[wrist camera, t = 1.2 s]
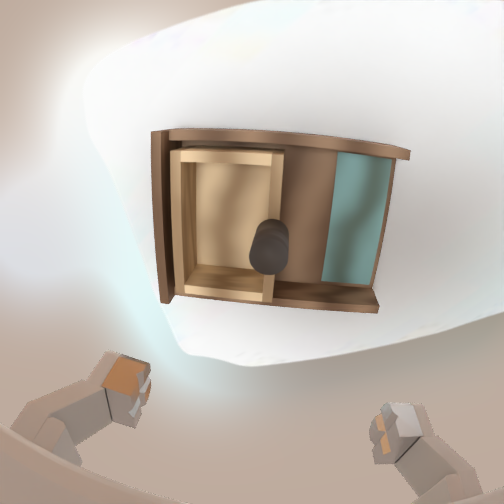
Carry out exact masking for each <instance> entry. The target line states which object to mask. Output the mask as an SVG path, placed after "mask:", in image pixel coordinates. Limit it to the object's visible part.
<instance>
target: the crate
mask: <svg viewBox="0 0 504 504" xmlns="http://www.w3.org/2000/svg"><path fill="white" fill-rule="evenodd" d="M284 154H285V149H274V148H259V147H240V146H211V145H189V146H185V147H182V148H178V149H175V150H172V151H170V182H171V218H172V240H173V258H174V273H175V287H176V292H180V293H188V294H196V295H204V296H213V297H222V298H231V299H240V300H250V301H260V302H270V303H272V298H273V289H274V280H275V274H277V273H279V272H281V271H282V270H283V269H284V268H285V267H286V265H287V263H288V251H289V231H288V228H287V227H286V225H285V224H284V223H283V222H281V221H280V209H281V196H282V182H283V168H284Z"/></svg>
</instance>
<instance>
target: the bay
mask: <svg viewBox="0 0 504 504" xmlns="http://www.w3.org/2000/svg"><path fill="white" fill-rule="evenodd" d="M189 145H211V146H240V147H259V148H274V149H285V154H284V168H283V182H282V196H281V209H280V221H281V222H283V223H284V224H285V225H286V227H287V228H288V231H289V251H288V263H287V265H286V267H285V268H284V269H283V270H282V271H281V272H279V273H277V274H275V280H274V289H273V298H272V303H270V302H260V301H250V300H240V299H231V298H222V297H213V296H204V295H196V294H188V293H180V292H176V287H175V273H174V258H173V240H172V218H171V182H170V151H172V150H175V149H178V148H182V147H185V146H189ZM410 151H411V150H408V149H404V148H401V147H397V146H393V145H388V144H382V143H376V142H369V141H363V140H356V139H348V138H341V137H333V136H324V135H315V134H305V133H294V132H281V131H266V130H247V129H213V128H181V129H168V130H160V131H153V132H151V177H152V204H153V222H154V238H155V251H156V263H157V273H158V283H159V293H160V302H161V303H165V304H169V303H170V302H171V300H172V299H173V297H174V295H180V296H188V297H196V298H204V299H213V300H222V301H231V302H240V303H249V304H259V305H270V306H280V307H292V308H304V309H316V310H330V311H344V312H360V313H378V310H379V304H378V301H377V299H376V296H375V294H374V291H373V289H372V287H373V283H374V279H375V274H376V270H377V266H378V261H379V257H380V252H381V247H382V242H383V237H384V232H385V227H386V221H387V216H388V210H389V204H390V198H391V192H392V185H393V178H394V171H395V163H396V158H398V159H404V160H409V159H410Z"/></svg>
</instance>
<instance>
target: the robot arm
mask: <svg viewBox="0 0 504 504" xmlns="http://www.w3.org/2000/svg"><path fill="white" fill-rule="evenodd" d="M150 371H151V369H150V364H149V363H147V362H144V361H141V360H138V359H135V358H132V357H129V356H126V355H123V354H120V353H117V352H114V351H111V350H108V351H106V352H105V353H104V354H103V356H102V358H101V359H100V360H99V362H98V364H97V365H96V367H95V368H94V370H93V371H92V373H91V374H90V376H89V377H88V379H87V380H86V381H85V380H80V381H78V382H76V383H73V384H71V385H69V386H66V387H64V388H62V389H59V390H57V391H54V392H52V393H50V394H47V395H45V396H42V397H40V398H38V399H35V400H33V401H30V402H28V403H27V404H26V406H25V407H24V409H23V410H22V411H21V413H20V414H19V416H18V417H17V419H16V420H15V422H14V423H13V424H12V426H11V427H10V429H9V428H8V427H6V426H5V425H3V424H2V423H0V504H191V503H186V502H182V501H178V500H174V499H170V498H166V497H163V496H159V495H156V494H152V493H149V492H146V491H143V490H139V489H137V488H134V487H130V486H127V485H125V484H122V483H119V482H116V481H114V480H111V479H108V478H106V477H103V476H101V475H99V474H96V473H93V472H91V471H89V470H86V469H84V468H82V467H80V466H81V464H82V460H81V457H80V455H79V454H78V451H77V449H76V447H75V446H76V445H78V444H79V443H81V442H83V441H84V440H86V439H87V438H89V437H90V436H92V435H93V434H95V433H96V432H98V431H99V430H101V429H103V428H104V427H106V426H107V425H109V424H110V423H112V421H114V422H116V423H119V424H123V425H126V426H129V427H132V428H136V426H137V423H138V421H139V419H140V416H141V407H142V406H144V405H145V404H146V402H147V400H148V397H149V393H150V389H151V379H150V378H149V377H148V375H149V373H150ZM369 435H370V440H371V441H372V442H373V443H374V445H375V446H374V448H373V449H372V452H373V457H374V462H375V464H394V465H395V467H396V468H397V469H398V471H399V472H400V473H401V474H402V476H403V477H404V478H405V480H406V481H407V482H408V484H409V485H410V486H411V487H412V489H413V490H414V491H415V493H416V494H417V495H418V496H419V498H418V499H417V500H415V501H414V502H412V503H411V504H504V487H501V488H498V489H495V490H493V491H490V492H487V493H483V492H482V489H481V486H480V483H479V480H478V477H477V474H476V471H475V469H474V468H473V467H472V466H471V465H470V464H469V463H468V462H467V461H466V460H464V459H463V458H462V457H461V456H460V455H459V454H458V453H457V452H456V451H454V450H453V449H452V448H451V447H450V446H449V445H448V444H447V443H445V442H444V441H443V440H442V439H441V438H440V437H439V436H435V435H434V432H433V429H432V426H431V423H430V420H429V418H428V415H427V412H426V410H425V407H424V405H423V404H422V403H410V404H409V403H386V404H384V405H383V407H382V408H381V414H379V415H377V416H376V417H375V418H374V419H373V421H372V422H371V426H370V430H369Z"/></svg>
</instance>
